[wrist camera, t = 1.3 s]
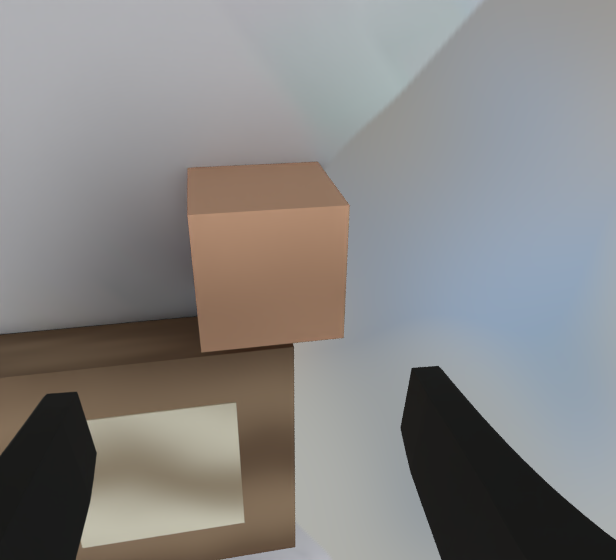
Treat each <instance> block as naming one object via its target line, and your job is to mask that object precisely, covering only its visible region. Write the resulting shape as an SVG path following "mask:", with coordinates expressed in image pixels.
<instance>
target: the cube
mask: <svg viewBox="0 0 616 560" xmlns="http://www.w3.org/2000/svg"><path fill="white" fill-rule="evenodd" d="M349 207H350V206H349V204H348V202H347V201H346V200H345V198H344V197H343V196H342V194H341V193H340V192H339V190H338V189H337V187H336V186H335V185H334V183H333V182H332V181H331V179H330V178H329V177H328V175H327V174H326V172H325V171H324V170H323V168H322V167H321V166H320V164H319V163H318V162H302V163H281V164H260V165H238V166H217V167H195V168H188V183H187V216H188V226H189V236H190V246H191V256H192V266H193V275H194V285H195V295H196V305H197V315H198V325H199V334H200V344H201V352H211V351H221V350H230V349H240V348H250V347H260V346H269V345H279V344H289V343H298V342H307V341H317V340H328V339H336V338H343V337H344V316H345V294H346V271H347V249H348V228H349Z"/></svg>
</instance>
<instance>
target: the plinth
mask: <svg viewBox="0 0 616 560" xmlns="http://www.w3.org/2000/svg"><path fill="white" fill-rule="evenodd" d="M64 392H77V393H78V396H79V399H80V402H81V405H82V408H83V411H84V414H85V418H86V421H87V424H88V427H89V430H90V433H91V436H92V439H93V442H94V446H95V449H96V452H97V457H96V465H95V473H94V481H93V488H92V495H91V501H90V505H89V509H88V513H87V517H86V521H85V525H84V529H83V533H82V537H81V541H80V545H79V549H78V553H77V556H76V560H220V559H226V558H232V557H238V556H244V555H250V554H256V553H262V552H268V551H274V550H280V549H286V548H292V547H295V453H294V452H295V451H294V450H295V446H294V445H295V443H294V346H293V343H289V344H279V345H269V346H260V347H250V348H240V349H230V350H221V351H211V352H201V344H200V334H199V325H198V316H197V317H186V318H175V319H164V320H154V321H143V322H132V323H121V324H111V325H100V326H89V327H78V328H68V329H57V330H46V331H35V332H25V333H14V334H3V335H0V455H1V454H2V452H3V451H4V450H5V448H6V447H7V446H8V444H9V443H10V442H11V440H12V439H13V438H14V436H15V435H16V434H17V432H18V431H19V430H20V428H21V427H22V426H23V424H24V423H25V422H26V420H27V419H28V417H29V416H30V415H31V413H32V412H33V410H34V409H35V408H36V406H37V405H38V404H39V402H40V401H41V399H42V398H43V397H44V396H45V395H46V394H50V393H64Z"/></svg>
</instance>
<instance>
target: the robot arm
mask: <svg viewBox="0 0 616 560" xmlns="http://www.w3.org/2000/svg"><path fill="white" fill-rule="evenodd" d="M401 432H402V437H403V442H404V446H405V451H406V455H407V459H408V463H409V468H410V471H411V475H412V478H413V480H414V483H415V486H416V489H417V492H418V495H419V497H420V501H421V503H422V506H423V509H424V512H425V515H426V517H427V520H428V523H429V526H430V529H431V531H432V534H433V537H434V540H435V543H436V545H437V548H438V551H439V554H440V556H441V559H442V560H616V540H615V539H614V538H612V537H611V536H610V535H608V534H607V533H606V532H604V531H603V530H602V529H601V528H599V527H598V526H597V525H596V524H594V523H593V522H592V521H590V519H588V518H587V517H586V516H584V515H583V514H582V513H581V512H580V511H579V510H577V509H576V508H575V507H574V506H573V505H572V504H570V503H569V502H568V501H567V500H566V499H565V498H563V497H562V496H561V495H560V494H559V493H558V492H557V491H556V490H554V489H553V488H552V487H551V486H550V485H549V484H548V483H547V482H546V481H545V480H544V479H543V478H542V477H541V476H539V475H538V474H537V473H536V472H535V471H534V470H533V469H532V468H531V467H530V466H529V465H528V464H527V463H526V462H525V461H524V460H523V459H522V458H521V457H520V456H519V455H518V454H517V453H516V452H515V451H514V450H513V449H512V448H511V447H510V446H509V445H508V444H507V443H506V442H505V440H504V439H503V438H502V437H501V436H500V435H499V434H498V433H497V432H496V431H495V430H494V429H493V428H492V427H491V426H490V424H489V423H488V422H487V421H486V420H485V419H484V418H483V417H482V416H481V415H480V413H479V412H478V411H477V410H476V409H475V408H474V407H473V405H472V404H471V403H470V402H469V401H468V400H467V399H466V397H465V396H464V395H463V394H462V393H461V392H460V390H459V389H458V388H457V387H456V386H455V384H454V383H453V382H452V381H451V380H450V379H449V377H448V376H447V375H446V374H445V373H444V371H443V370H442V369H441V368H440V367H439V366H432V367H418V368H412V370H411V375H410V380H409V386H408V391H407V396H406V402H405V407H404V412H403V418H402V423H401ZM96 457H97V452H96V449H95V446H94V442H93V439H92V436H91V433H90V430H89V427H88V424H87V421H86V418H85V414H84V411H83V408H82V405H81V402H80V399H79V396H78V393H77V392H64V393H50V394H46V395H45V396H44V397H43V398H42V399H41V401H40V402H39V404H38V405H37V406H36V408H35V409H34V410H33V412H32V413H31V415H30V416H29V417H28V419H27V420H26V422H25V423H24V424H23V426H22V427H21V428H20V430H19V431H18V432H17V434H16V435H15V436H14V438H13V439H12V440H11V442H10V443H9V444H8V446H7V447H6V448H5V450H4V451H3V452H2V454H1V455H0V560H76V556H77V553H78V549H79V545H80V541H81V537H82V533H83V529H84V525H85V521H86V517H87V513H88V509H89V505H90V501H91V495H92V488H93V481H94V473H95V465H96Z"/></svg>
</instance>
